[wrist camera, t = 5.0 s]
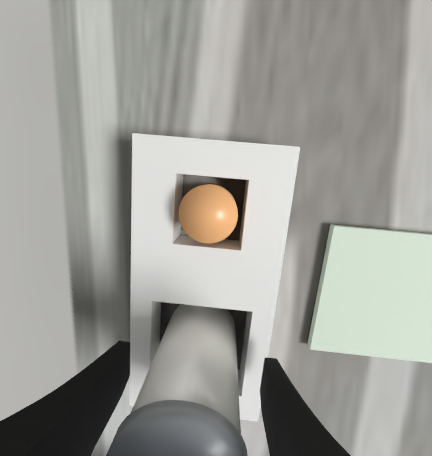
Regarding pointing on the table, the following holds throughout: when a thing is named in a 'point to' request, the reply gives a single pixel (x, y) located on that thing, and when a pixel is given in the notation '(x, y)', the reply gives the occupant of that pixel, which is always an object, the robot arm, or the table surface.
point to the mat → (375, 294)
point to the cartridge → (188, 392)
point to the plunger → (208, 213)
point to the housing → (207, 247)
